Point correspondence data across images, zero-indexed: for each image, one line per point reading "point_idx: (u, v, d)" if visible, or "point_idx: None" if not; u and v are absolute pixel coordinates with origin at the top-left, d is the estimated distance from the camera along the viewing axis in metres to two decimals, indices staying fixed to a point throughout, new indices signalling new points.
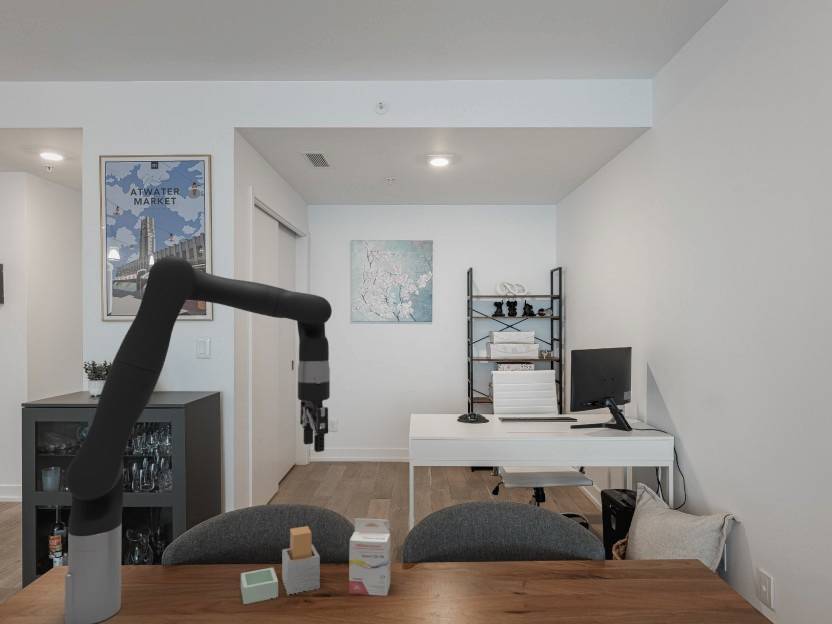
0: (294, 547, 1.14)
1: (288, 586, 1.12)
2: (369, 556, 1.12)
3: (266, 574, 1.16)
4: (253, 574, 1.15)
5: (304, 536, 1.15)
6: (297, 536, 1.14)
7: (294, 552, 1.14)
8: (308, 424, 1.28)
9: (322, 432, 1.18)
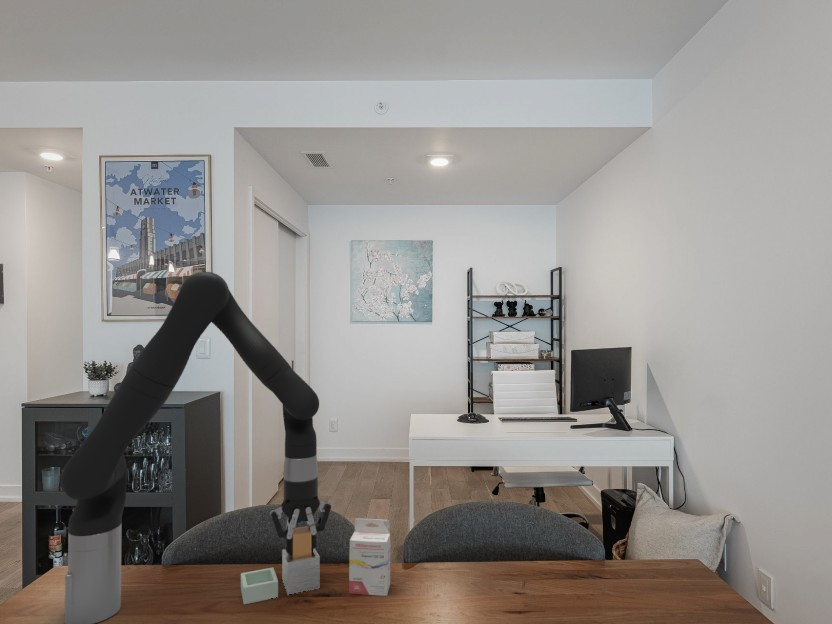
0: (294, 547, 1.14)
1: (288, 586, 1.12)
2: (369, 556, 1.12)
3: (266, 574, 1.16)
4: (253, 574, 1.15)
5: (304, 536, 1.15)
6: (297, 536, 1.14)
7: (294, 552, 1.14)
8: None
9: None
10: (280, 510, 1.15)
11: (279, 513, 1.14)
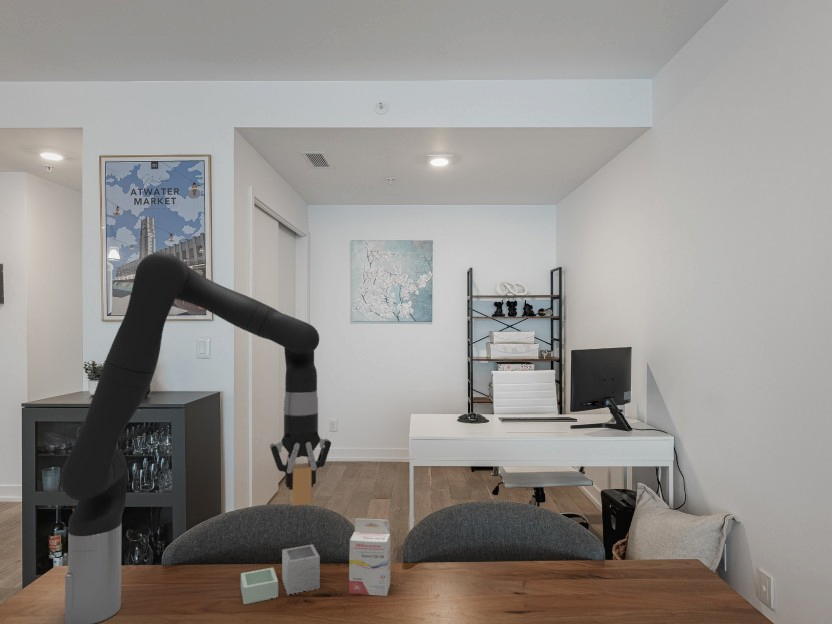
0: (294, 481, 1.14)
1: (288, 586, 1.12)
2: (369, 556, 1.12)
3: (266, 574, 1.16)
4: (253, 574, 1.15)
5: (304, 471, 1.15)
6: (297, 470, 1.15)
7: (294, 486, 1.14)
8: None
9: None
10: (280, 444, 1.15)
11: (279, 447, 1.15)
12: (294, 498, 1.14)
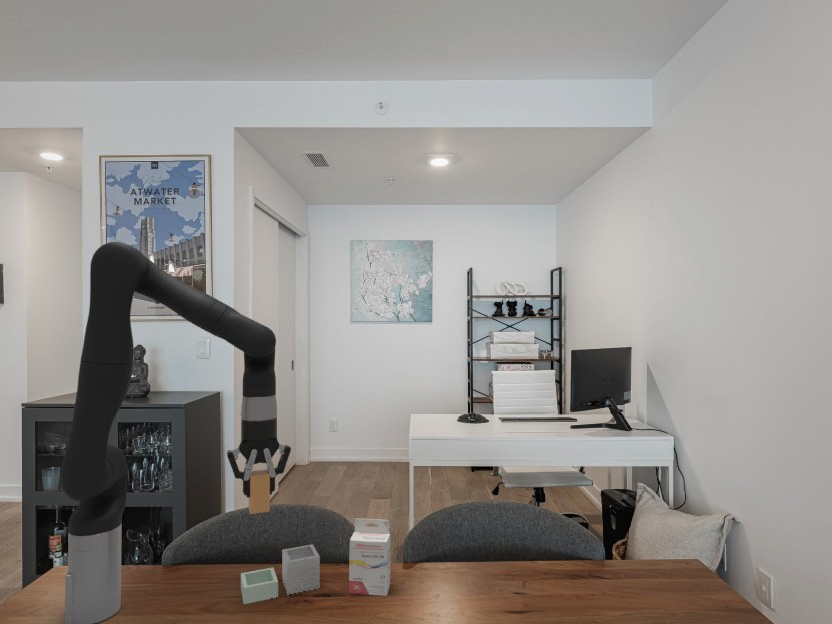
0: (251, 488, 1.11)
1: (288, 586, 1.12)
2: (369, 556, 1.12)
3: (266, 574, 1.16)
4: (253, 574, 1.15)
5: (262, 478, 1.12)
6: (254, 477, 1.11)
7: (251, 493, 1.11)
8: None
9: None
10: (237, 451, 1.11)
11: (236, 454, 1.11)
12: (251, 506, 1.11)
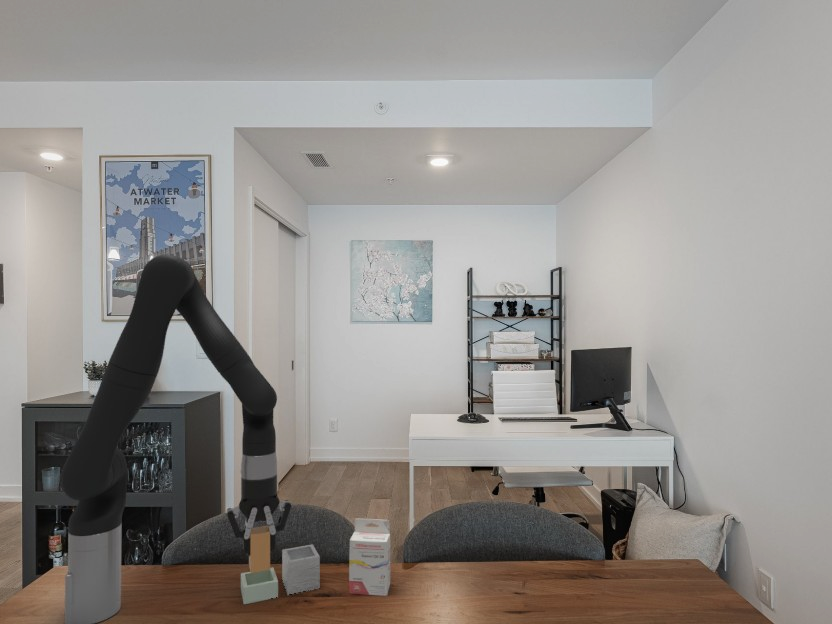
0: (251, 547, 1.10)
1: (288, 586, 1.12)
2: (369, 556, 1.12)
3: (266, 574, 1.16)
4: (253, 574, 1.15)
5: (262, 536, 1.11)
6: (254, 536, 1.11)
7: (251, 552, 1.10)
8: None
9: None
10: (237, 509, 1.11)
11: (236, 512, 1.11)
12: (252, 565, 1.10)
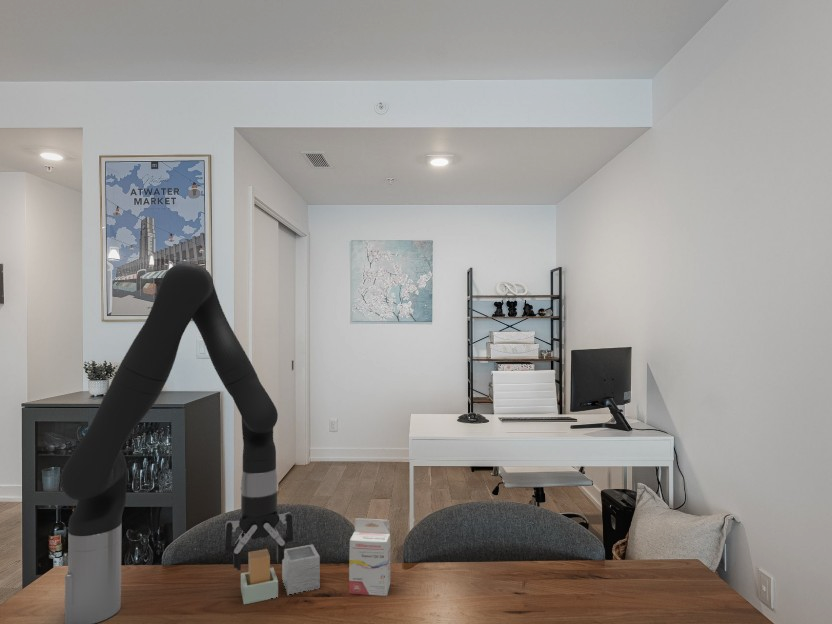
0: (251, 572, 1.10)
1: (288, 586, 1.12)
2: (369, 556, 1.12)
3: None
4: None
5: (262, 560, 1.11)
6: (254, 560, 1.11)
7: (251, 577, 1.10)
8: None
9: None
10: (237, 523, 1.11)
11: (235, 526, 1.11)
12: None
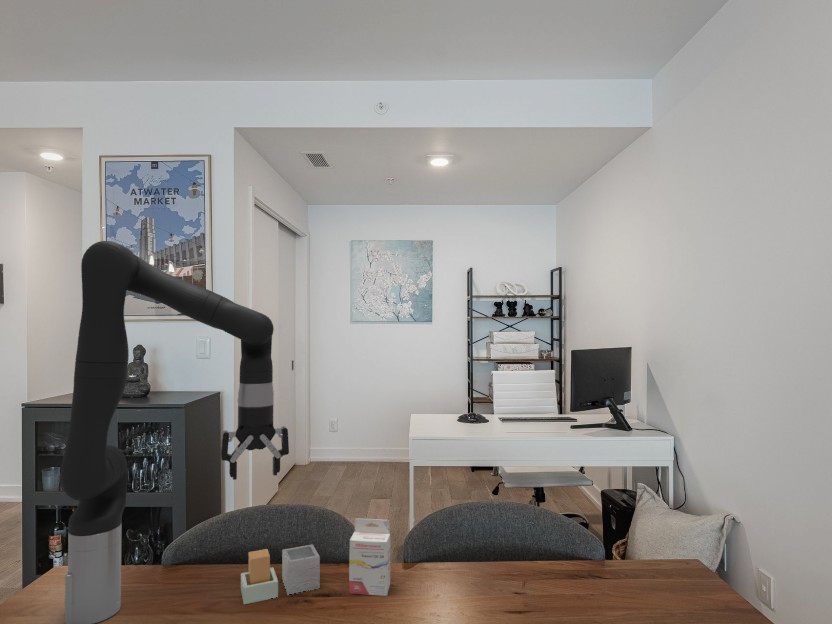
0: (251, 572, 1.10)
1: (288, 586, 1.12)
2: (369, 556, 1.12)
3: None
4: None
5: (262, 560, 1.11)
6: (254, 560, 1.11)
7: (251, 577, 1.10)
8: None
9: None
10: (233, 434, 1.13)
11: (231, 436, 1.12)
12: None
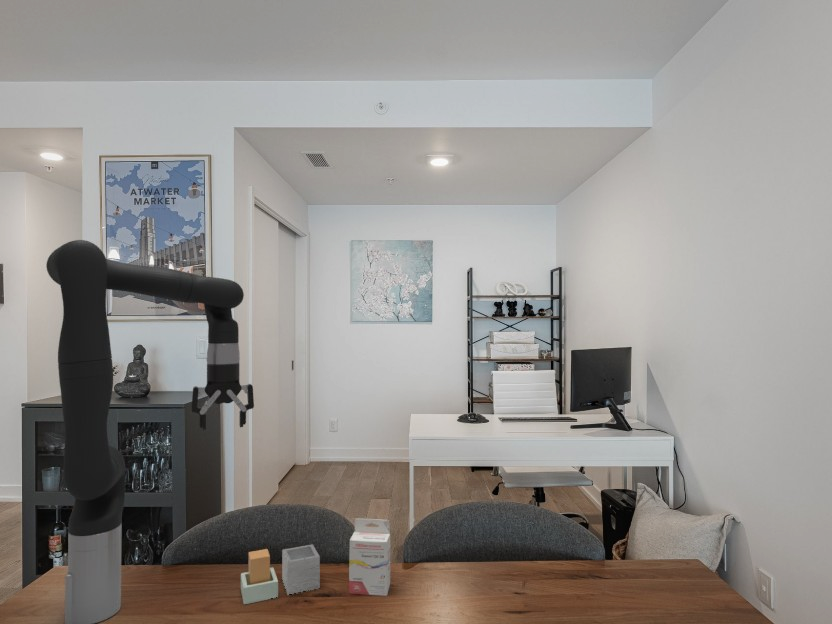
0: (251, 572, 1.10)
1: (288, 586, 1.12)
2: (369, 556, 1.12)
3: None
4: None
5: (262, 560, 1.11)
6: (254, 560, 1.11)
7: (251, 577, 1.10)
8: None
9: None
10: (203, 389, 1.25)
11: (201, 391, 1.25)
12: None
